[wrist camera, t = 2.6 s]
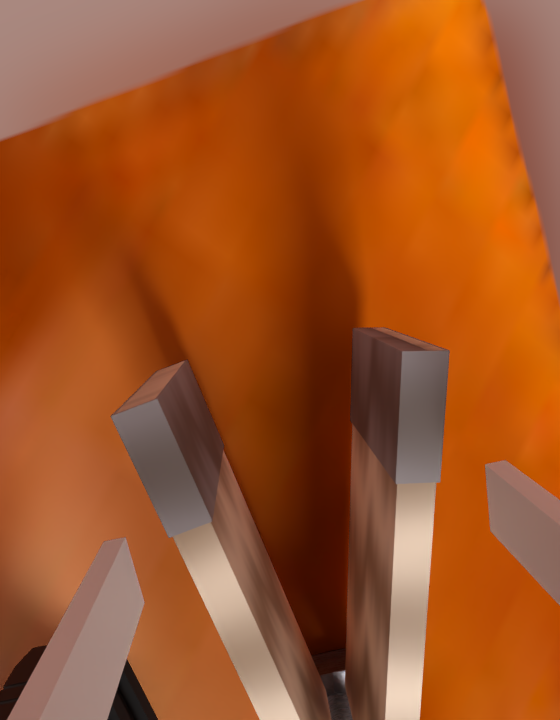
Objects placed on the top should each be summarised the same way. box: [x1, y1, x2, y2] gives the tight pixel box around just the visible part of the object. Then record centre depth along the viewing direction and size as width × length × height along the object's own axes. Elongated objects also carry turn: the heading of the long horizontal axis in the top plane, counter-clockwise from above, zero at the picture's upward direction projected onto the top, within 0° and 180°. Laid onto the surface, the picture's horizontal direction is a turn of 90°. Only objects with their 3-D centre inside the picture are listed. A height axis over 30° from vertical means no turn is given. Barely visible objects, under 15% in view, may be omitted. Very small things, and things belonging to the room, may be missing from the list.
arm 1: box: [345, 328, 449, 720], centre depth 20 cm, size 22×2×7 cm, turn 0°
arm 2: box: [111, 360, 331, 720], centre depth 20 cm, size 22×2×7 cm, turn 20°
